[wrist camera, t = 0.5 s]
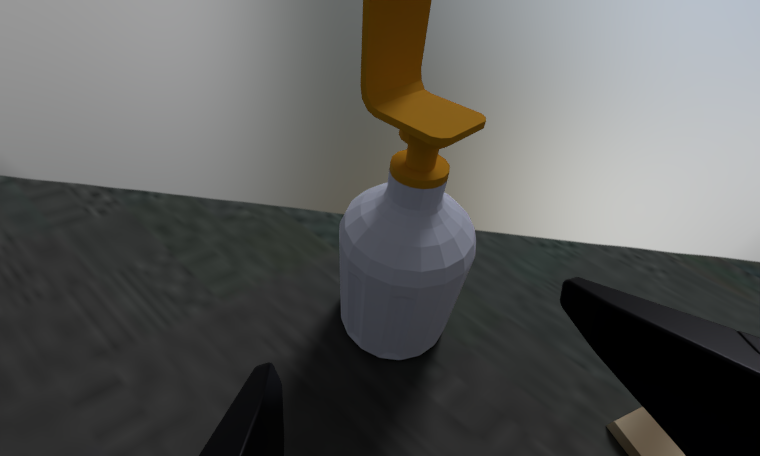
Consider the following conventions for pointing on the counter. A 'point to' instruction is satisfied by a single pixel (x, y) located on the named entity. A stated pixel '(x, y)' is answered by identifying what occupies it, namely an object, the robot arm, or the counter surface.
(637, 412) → the maple holder board
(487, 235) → the counter surface
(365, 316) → the soap bottle
